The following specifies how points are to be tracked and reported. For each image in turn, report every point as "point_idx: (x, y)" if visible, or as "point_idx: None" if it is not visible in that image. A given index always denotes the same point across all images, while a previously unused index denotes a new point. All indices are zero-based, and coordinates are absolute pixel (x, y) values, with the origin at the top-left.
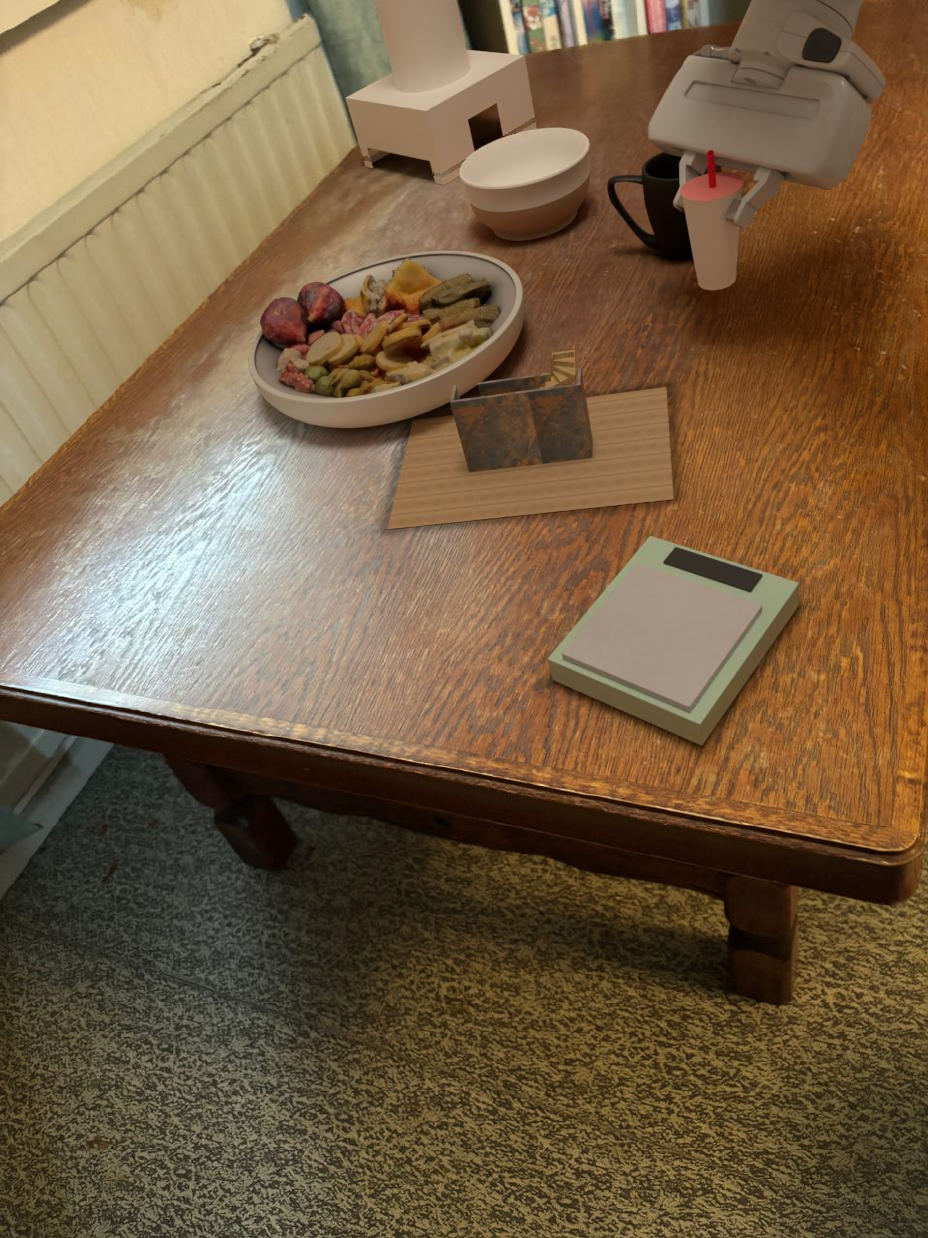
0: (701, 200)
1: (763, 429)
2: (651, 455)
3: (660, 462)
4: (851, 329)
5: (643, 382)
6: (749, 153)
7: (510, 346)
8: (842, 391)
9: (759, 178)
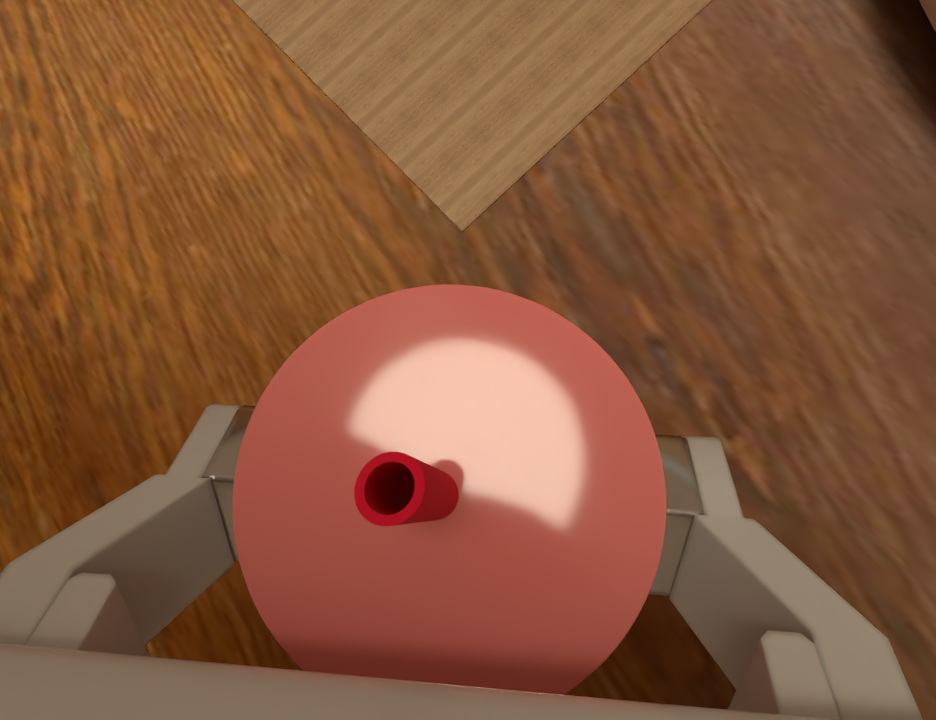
0: (373, 302)
1: (150, 222)
2: (309, 16)
3: (276, 10)
4: None
5: (530, 216)
6: (97, 694)
7: (934, 10)
8: (71, 436)
9: (59, 588)
